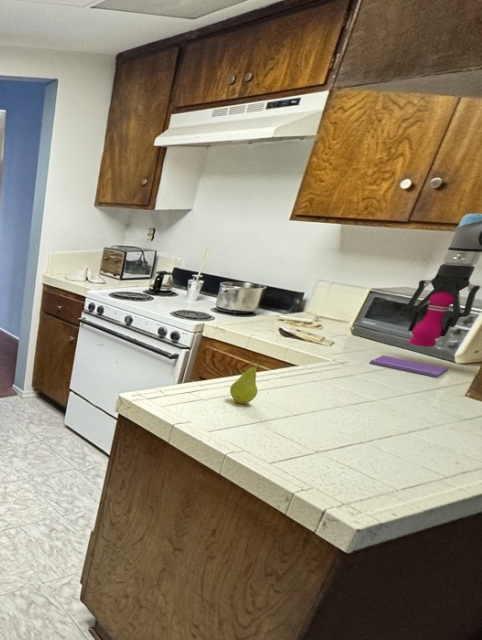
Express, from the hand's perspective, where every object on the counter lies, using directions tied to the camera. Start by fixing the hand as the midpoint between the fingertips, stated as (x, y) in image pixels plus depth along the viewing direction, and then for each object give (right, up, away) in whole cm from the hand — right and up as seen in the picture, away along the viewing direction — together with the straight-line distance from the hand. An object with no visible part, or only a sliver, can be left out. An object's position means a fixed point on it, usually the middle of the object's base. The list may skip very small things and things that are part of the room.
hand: (426, 332), depth 160 cm
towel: (-11, -12, -4) cm, 16 cm away
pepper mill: (0, -4, +2) cm, 4 cm away
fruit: (-90, -23, -35) cm, 99 cm away
